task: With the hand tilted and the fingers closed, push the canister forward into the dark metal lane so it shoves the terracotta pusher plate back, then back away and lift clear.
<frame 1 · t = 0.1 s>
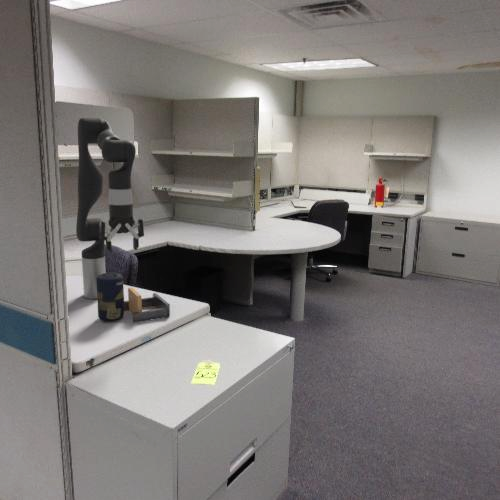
hand: (122, 250, 161), 29 cm above the table, tool pointing down, fingers open, 8 cm apart
lane: (145, 313, 185), on the table
pusher plate: (134, 302, 182), point 5 cm above the table, slide at 0.0 cm
canister: (111, 319, 179), on the table
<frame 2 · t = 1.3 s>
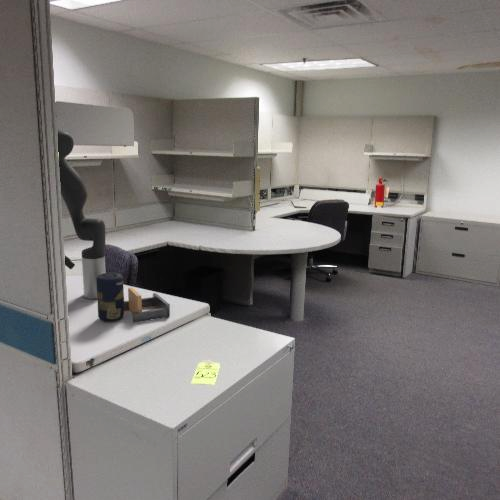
hand: (70, 264, 167), 23 cm above the table, tool tilted 45°, fingers open, 7 cm apart
nothing on the table moved.
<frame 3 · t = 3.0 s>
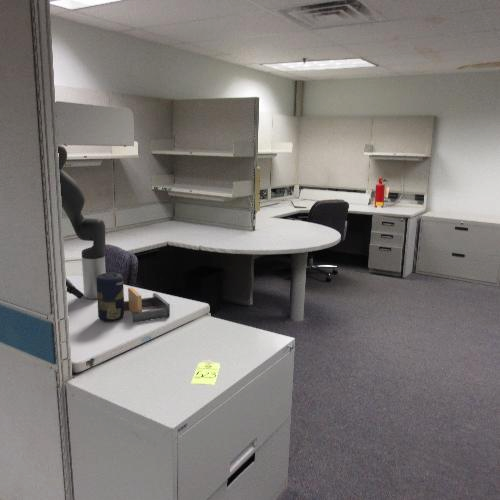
hand: (81, 296, 171), 10 cm above the table, tool tilted 45°, fingers closed
nothing on the table moved.
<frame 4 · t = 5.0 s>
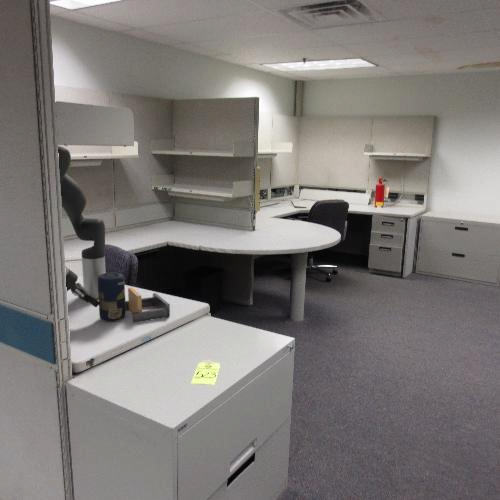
hand: (97, 304, 175), 6 cm above the table, tool tilted 45°, fingers closed
canister: (112, 319, 179), on the table, touching gripper
everything else where it was.
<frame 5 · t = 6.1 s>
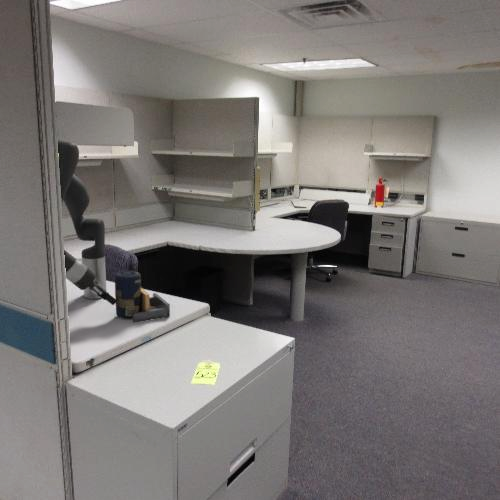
hand: (114, 302, 178), 6 cm above the table, tool tilted 45°, fingers closed
pusher plate: (142, 301, 184), point 5 cm above the table, slide at 3.1 cm
canister: (129, 316, 182), on the table, touching gripper
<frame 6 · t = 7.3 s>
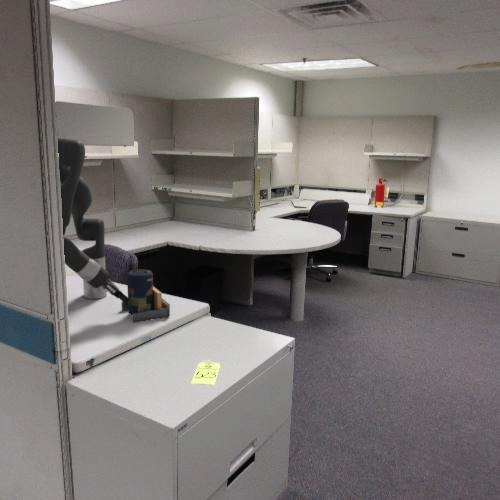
hand: (127, 300, 180), 6 cm above the table, tool tilted 45°, fingers closed
pusher plate: (154, 299, 186), point 5 cm above the table, slide at 7.8 cm, touching canister
canister: (141, 314, 184), on the table, touching gripper, pusher plate
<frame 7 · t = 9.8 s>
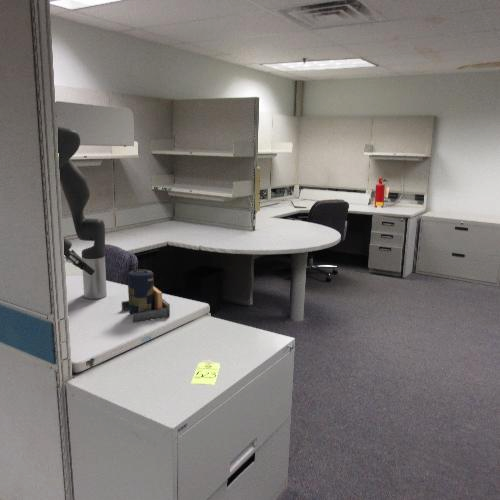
hand: (92, 272, 172), 19 cm above the table, tool tilted 45°, fingers closed
pusher plate: (155, 299, 186), point 5 cm above the table, slide at 8.0 cm
canister: (141, 314, 185), on the table
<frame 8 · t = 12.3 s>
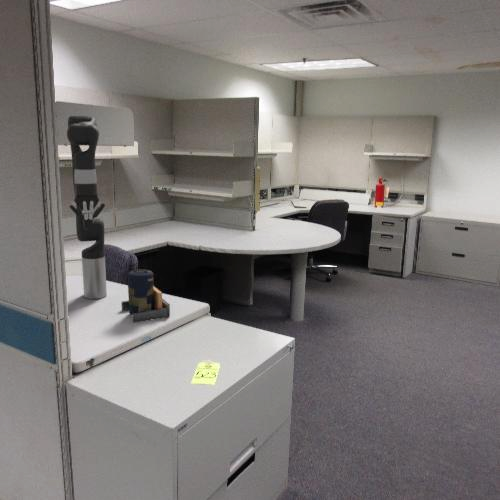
hand: (88, 229, 176), 33 cm above the table, tool pointing down, fingers closed
nothing on the table moved.
at the end: canister inside the target area (0.5 cm from its centre), on the table; pusher plate slide at 8.0 cm; canister tilted 0° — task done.
